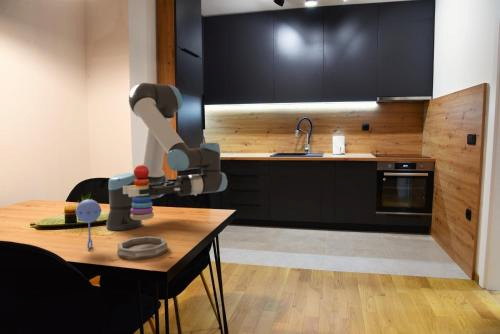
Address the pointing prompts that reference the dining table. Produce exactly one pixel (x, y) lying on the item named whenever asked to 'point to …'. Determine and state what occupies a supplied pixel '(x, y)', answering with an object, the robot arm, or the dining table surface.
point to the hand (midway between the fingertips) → (126, 191)
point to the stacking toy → (141, 203)
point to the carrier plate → (142, 248)
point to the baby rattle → (88, 214)
